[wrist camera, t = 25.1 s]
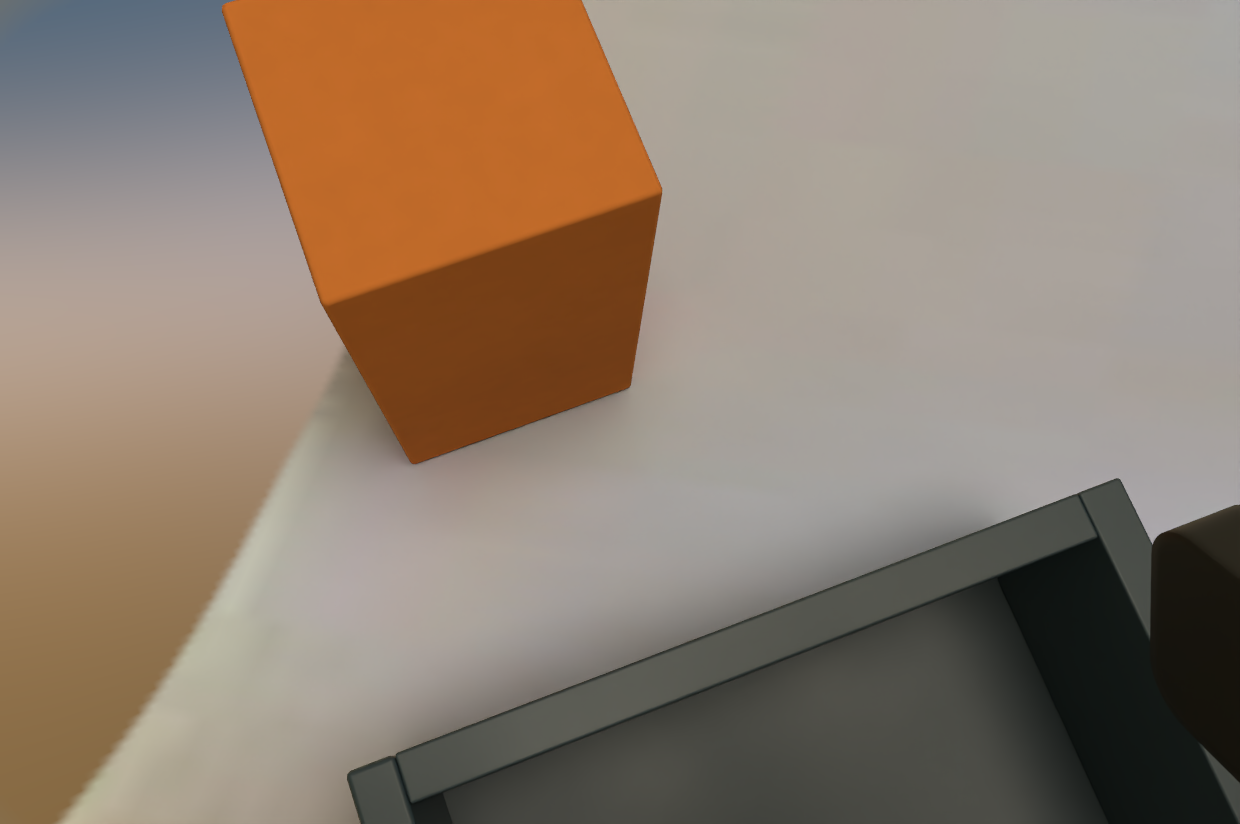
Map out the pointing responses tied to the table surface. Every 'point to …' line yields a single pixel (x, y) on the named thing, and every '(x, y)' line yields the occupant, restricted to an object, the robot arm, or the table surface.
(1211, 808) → the crate
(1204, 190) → the table surface
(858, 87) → the table surface
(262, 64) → the toy block
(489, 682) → the table surface
